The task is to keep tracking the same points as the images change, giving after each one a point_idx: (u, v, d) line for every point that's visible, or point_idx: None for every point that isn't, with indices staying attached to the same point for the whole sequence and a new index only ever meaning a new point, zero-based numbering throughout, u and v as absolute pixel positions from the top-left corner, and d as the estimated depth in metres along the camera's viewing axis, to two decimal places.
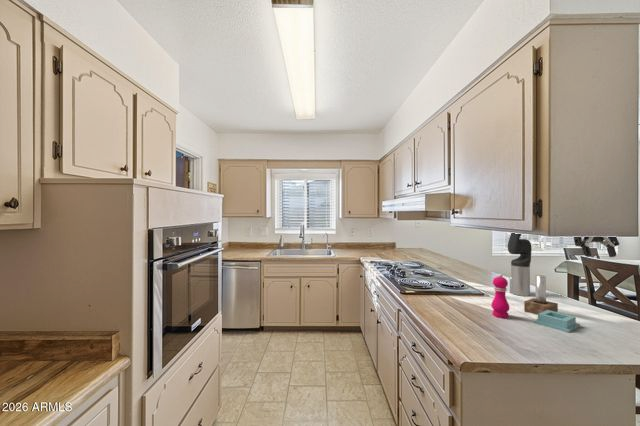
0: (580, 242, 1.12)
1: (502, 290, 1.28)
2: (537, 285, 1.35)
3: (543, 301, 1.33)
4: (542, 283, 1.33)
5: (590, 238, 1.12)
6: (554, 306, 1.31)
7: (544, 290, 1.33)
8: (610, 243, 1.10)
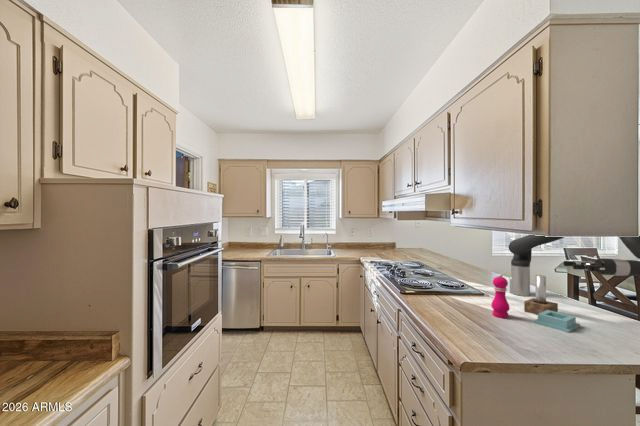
0: (591, 270, 1.23)
1: (502, 290, 1.28)
2: (537, 285, 1.35)
3: (543, 301, 1.33)
4: (542, 283, 1.33)
5: None
6: (554, 306, 1.31)
7: (544, 290, 1.33)
8: None
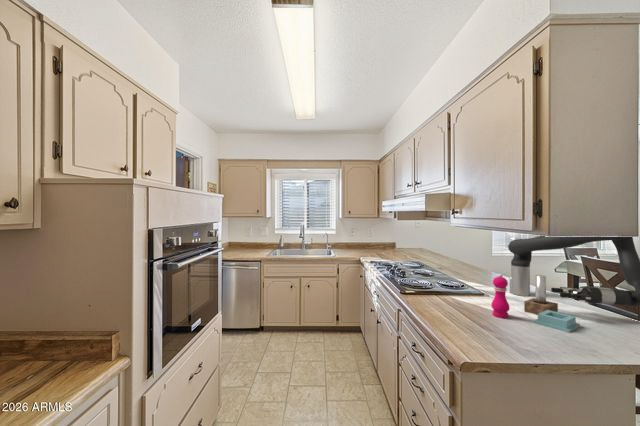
0: None
1: (502, 290, 1.28)
2: (537, 285, 1.35)
3: (543, 301, 1.33)
4: (542, 283, 1.33)
5: None
6: (554, 306, 1.31)
7: (544, 290, 1.33)
8: (564, 293, 1.35)
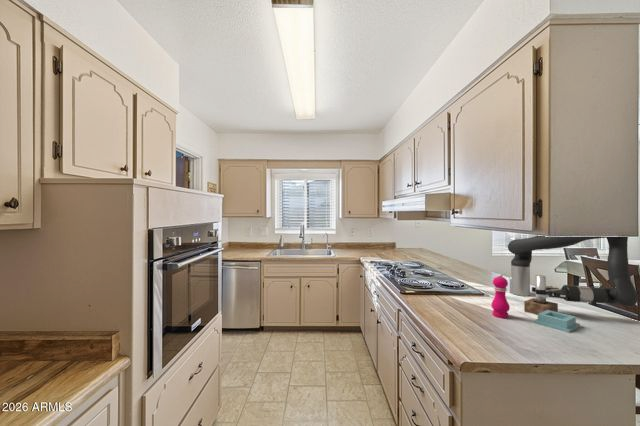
0: None
1: (502, 290, 1.28)
2: (537, 285, 1.35)
3: (543, 301, 1.33)
4: (542, 283, 1.33)
5: None
6: (554, 306, 1.31)
7: (544, 289, 1.33)
8: None
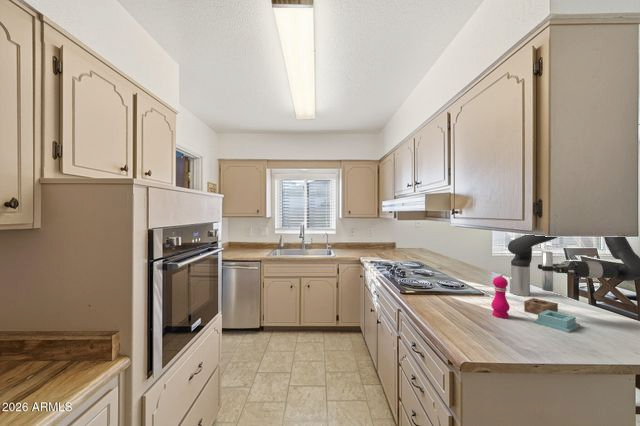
0: (559, 272, 1.24)
1: (502, 290, 1.28)
2: (543, 261, 1.29)
3: (550, 278, 1.27)
4: (548, 259, 1.28)
5: (561, 272, 1.26)
6: (554, 306, 1.31)
7: None
8: None
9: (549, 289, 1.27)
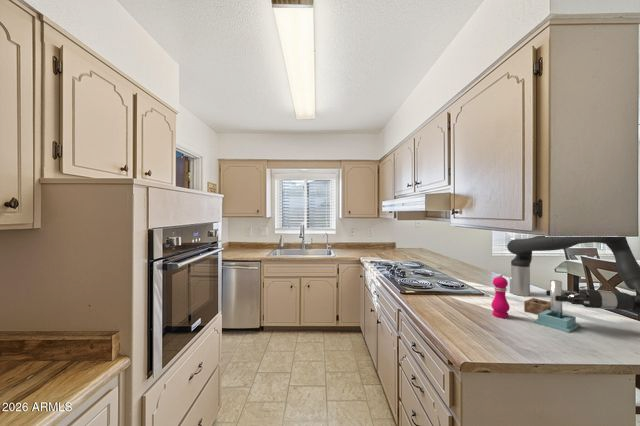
0: None
1: (502, 290, 1.28)
2: (552, 291, 1.20)
3: (559, 310, 1.18)
4: (557, 289, 1.18)
5: None
6: None
7: None
8: None
9: None
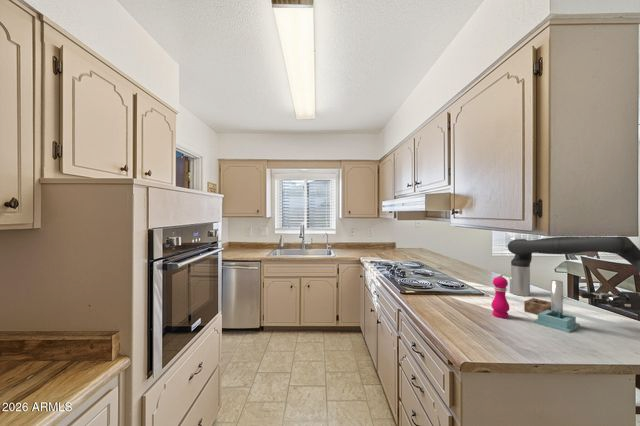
0: None
1: (502, 290, 1.28)
2: (553, 291, 1.20)
3: (560, 310, 1.18)
4: (558, 289, 1.18)
5: None
6: None
7: (561, 297, 1.18)
8: None
9: None
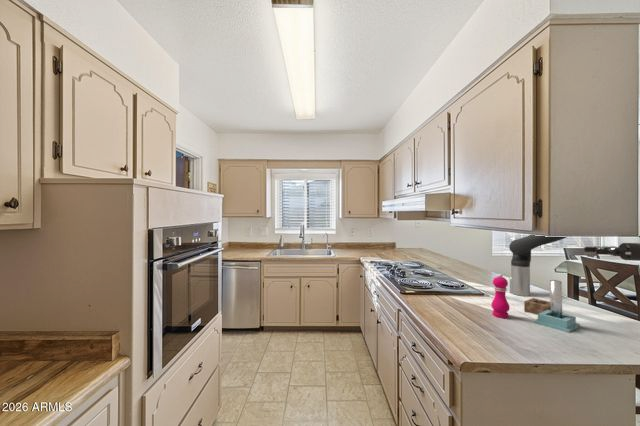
0: (615, 255, 1.16)
1: (502, 290, 1.28)
2: (552, 291, 1.20)
3: (559, 310, 1.18)
4: (557, 289, 1.18)
5: None
6: None
7: (560, 296, 1.18)
8: None
9: None
